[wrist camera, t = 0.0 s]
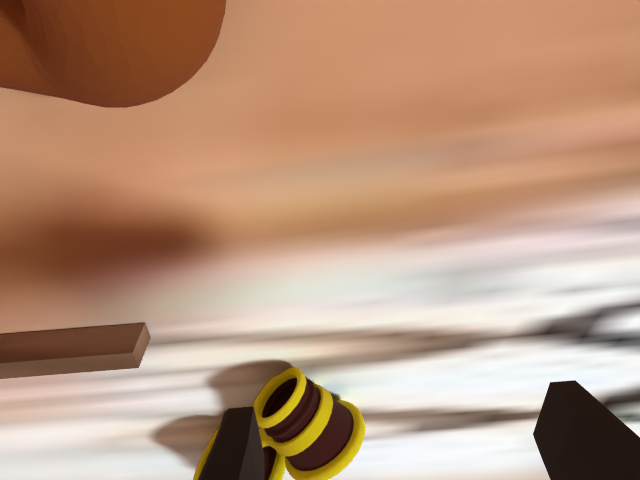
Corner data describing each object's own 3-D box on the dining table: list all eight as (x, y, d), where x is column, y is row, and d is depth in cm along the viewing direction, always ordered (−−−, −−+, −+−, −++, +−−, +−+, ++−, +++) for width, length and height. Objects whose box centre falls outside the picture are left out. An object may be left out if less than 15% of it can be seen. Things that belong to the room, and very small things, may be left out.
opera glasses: (298, 341, 24) (283, 409, 20) (367, 393, 26) (367, 469, 21) (202, 428, 28) (171, 502, 24) (266, 471, 29) (248, 550, 25)
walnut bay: (206, 494, 30) (201, 526, 29) (-34, 515, 30) (-53, 548, 28) (145, 322, 22) (132, 352, 20) (-191, 349, 22) (-232, 381, 20)
